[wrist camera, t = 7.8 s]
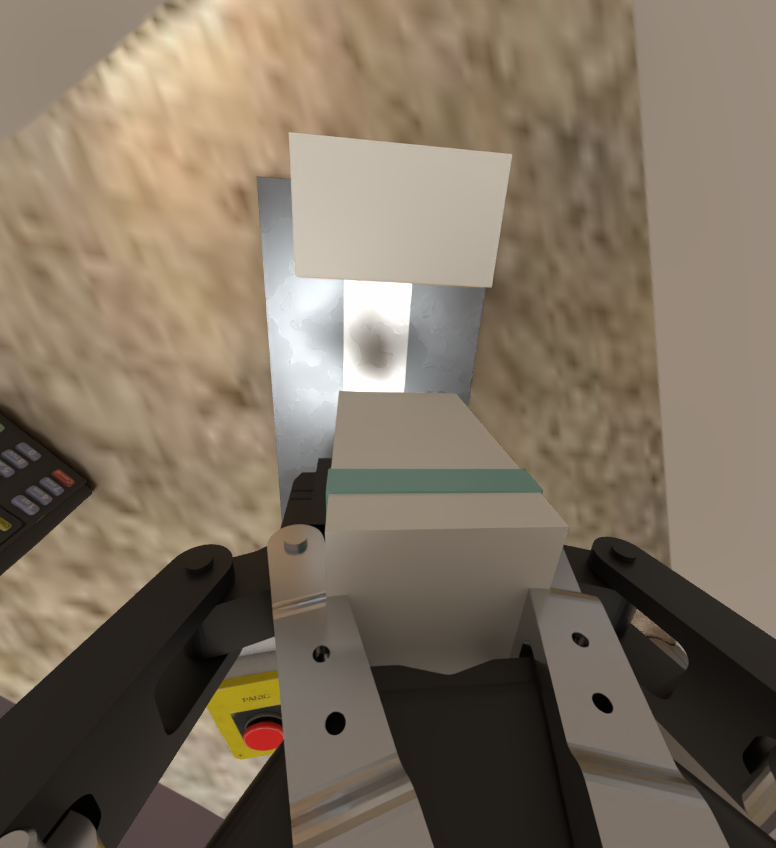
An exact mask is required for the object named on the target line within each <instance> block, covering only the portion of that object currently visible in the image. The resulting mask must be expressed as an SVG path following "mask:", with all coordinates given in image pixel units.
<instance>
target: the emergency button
mask: <svg viewBox="0 0 776 848" xmlns="http://www.w3.org/2000/svg"><path fill="white" fill-rule="evenodd" d="M206 708H207V710H208V712H209V713H210V715H211V717H212V719H213V720H214V722H215V724H216V726H217V728H218V729H219V731H220V733H221V735H222V737H223V738H224V740H225V742H226V744H227V745H228V747H229V749H230V751H231V753H232V754H233V756H234V757H235V758H237V759H248V758H253V757H258V756H264V755H269V754H273V753H274V751H275V750H276V748H277V747H278V746H279V744H280V743H281V742H282V740H283V739H284V735H283V724H282V713H281V701H280V690H279V679H278V667H277V656H276V644H275V637H272V638H270V639H267V640H264V641H261V642H258V643H256V644H253V645H250V646H247V647H244V648H243V649H242V651H241V653H240V655H239V656H238V658H237V660H236V661H235V663H234V664H233V666H232V667H231V669H230V670H229V672H228V674H227V675H226V677H225V678H224V680H223V681H222V683H221V685H220V686H219V688H218V689H217V691H216V692H215V694H214V696H213V697H212V699H211V700H210V702H209V703H208V705H207V707H206Z"/></svg>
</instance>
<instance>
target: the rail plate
mask: <svg viewBox="0 0 776 848" xmlns="http://www.w3.org/2000/svg"><path fill="white" fill-rule="evenodd" d="M257 187H258V201H259V214H260V228H261V242H262V255H263V269H264V283H265V296H266V310H267V324H268V337H269V351H270V365H271V378H272V392H273V406H274V419H275V433H276V447H277V460H278V474H279V488H280V501H281V515H282V522H283V518H284V514H285V511H286V507H287V503H288V500H289V496H290V492H291V489H292V485H293V481H294V480H295V479H296V478H297V477H298V476H299V475H300V474H301V473H302V472H316V469H317V463H318V458H332V455H333V445H334V435H335V425H336V415H337V405H338V395H339V391H369V392H410V393H451V394H457V395H458V396H459V398H460V399H461V400H462V401H463V402H464V403H465V405H466V406H467V407H468V402H469V396H470V389H471V382H472V376H473V369H474V362H475V356H476V349H477V342H478V335H479V329H480V322H481V315H482V309H483V302H484V295H485V289H486V287H482V288H479V287H462V286H444V285H426V284H408V283H391V282H373V281H355V280H337V279H320V278H302V277H298V276H295V265H294V242H293V218H292V194H291V179H280V178H268V177H257Z"/></svg>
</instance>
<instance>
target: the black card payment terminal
mask: <svg viewBox="0 0 776 848" xmlns="http://www.w3.org/2000/svg"><path fill="white" fill-rule="evenodd" d="M86 482H87V480H85V479H84V478H83V477H82V476H80V475H79V474H78V473H76V472H75V471H74V470H73V469H71V468H70V467H69V466H67V465H66V464H65V463H64V462H62V461H61V460H60V459H58V458H57V457H56V456H54V455H53V454H52V453H51V452H49V451H48V450H47V449H45V448H44V447H43V446H42V445H40V444H39V443H38V442H36V441H35V440H34V439H33V438H31V437H30V436H29V435H27V434H26V433H25V432H24V431H22V430H21V429H20V428H18V427H17V426H16V425H15V424H13V423H12V422H11V421H9V420H8V419H7V418H6V417H4V416H3V415H2V414H0V576H1V575H2V574H3V573H4V572H5V571H6V570H8V569H9V568H10V567H11V566H12V565H13V564H14V563H16V562H17V561H18V560H19V559H20V558H21V557H22V556H24V555H25V554H26V553H27V552H28V551H29V550H31V549H32V548H33V547H34V546H35V545H36V544H37V543H38V542H40V541H41V540H42V539H43V538H44V537H45V536H46V535H47V534H48V533H49V532H50V531H52V530H53V529H54V528H55V527H56V526H57V525H58V524H59V523H60V522H61V521H62V520H64V519H65V518H66V517H67V516H68V515H69V514H70V513H71V512H72V511H73V510H74V509H76V508H77V507H78V506H79V505H80V504H81V503H82V502H83V501H84V500H85V499H86V498H88V497H89V496H90V495H91V494H92V490H91V489H90V488H89V487H87V486H86V485H85V483H86Z"/></svg>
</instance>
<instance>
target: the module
mask: <svg viewBox="0 0 776 848" xmlns="http://www.w3.org/2000/svg"><path fill="white" fill-rule="evenodd" d="M542 493H543V489H542V488H541V487H540V486H539V485H538V484H537V483H536V481H535V480H534V479H533V478H532V477H531V476H530V475H529V473H528V472H527V471H526V470H525V469H520V468H519V467H518V466H517V465H516V463H515V462H514V461H513V460H512V459H511V458H510V456H509V455H508V454H507V453H506V452H505V451H504V449H503V448H502V447H501V446H500V445H499V443H498V442H497V441H496V440H495V439H494V438H493V436H492V435H491V434H490V433H489V432H488V431H487V429H486V428H485V427H484V426H483V425H482V423H481V422H480V421H479V420H478V419H477V418H476V416H475V415H474V414H473V413H472V412H471V411H470V409H469V408H468V407H467V406H466V405H465V403H464V402H463V401H462V400H461V399H460V398H459V396H458V395H457V394H451V393H410V392H369V391H339V395H338V405H337V415H336V425H335V435H334V445H333V455H332V465H331V469H328V477H327V485H326V525H325V567H326V597H331V596H341V595H347V597H348V600H349V603H350V606H351V609H352V612H353V615H354V618H355V622H356V625H357V628H358V631H359V634H360V637H361V640H362V644H363V647H364V650H365V653H366V656H367V659H368V663H369V666H387V665H402V666H407V667H412V668H416V669H421V670H426V671H431V672H436V673H441V674H446V675H451V674H455V673H458V672H460V671H463V670H466V669H468V668H471V667H474V666H476V665H479V664H482V663H484V662H487V661H490V660H492V659H504V658H509V657H510V654H511V650H512V646H513V643H514V639H515V636H516V632H517V629H518V625H519V621H520V618H521V614H522V611H523V607H524V604H525V600H526V597H527V593H528V589H529V588H541V589H550V587H551V583H552V580H553V577H554V574H555V571H556V567H557V564H558V561H559V558H560V555H561V551H562V548H563V545H564V542H565V539H566V535H567V532H568V529H569V526H568V525H567V523H566V522H565V521H564V520H563V519H562V518H561V516H560V515H559V514H558V513H557V512H556V511H555V509H554V508H553V507H552V506H551V505H550V503H549V502H548V501H547V500H546V499H545V498H544V496H543V495H542Z"/></svg>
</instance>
